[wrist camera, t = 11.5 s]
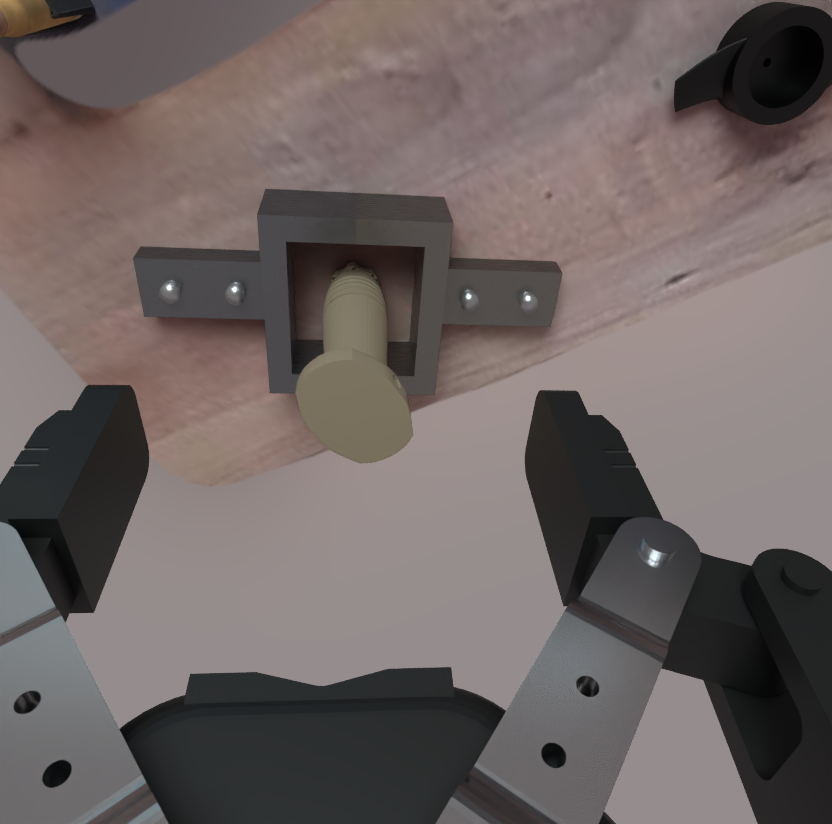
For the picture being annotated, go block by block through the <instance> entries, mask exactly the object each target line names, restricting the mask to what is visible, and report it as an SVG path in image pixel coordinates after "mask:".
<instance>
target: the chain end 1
mask: <svg viewBox="0 0 832 824" xmlns="http://www.w3.org/2000/svg"><path fill="white" fill-rule="evenodd" d="M257 220H258V234H259V248H260V251H246V250H218V249H190V248H163V247H140V249H139V250H138V252H137V253H136V255H135V256H134V258H133V260H134V265H135V270H136V276H137V281H138V286H139V291H140V297H141V302H142V307H143V312H144V317H179V318H219V319H258V320H265V332H266V346H267V360H268V374H269V388H270V393H295V392H296V385H297V381H298V378H299V376H300V374H301V372H302V371H303V369H304V367H305V366H306V365H308V364H309V363H310V362H311V361H312V360H313V359H315V358H316V357H318V356H319V355H322V354H324V347H323V340H297V338H296V313H295V288H294V263H293V242H308V243H334V244H356V228H357V210H356V193H342V192H320V191H298V190H277V189H265V192H264V195H263V198H262V201H261V204H260V208H259V211H258V214H257Z"/></svg>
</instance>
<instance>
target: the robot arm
mask: <svg viewBox="0 0 832 824" xmlns="http://www.w3.org/2000/svg"><path fill="white" fill-rule="evenodd" d="M628 450H629V449H628V448H627V445H626V443H625V441H624V439H623V437H622V435H621V433H620V431H619V430H618V429H616V428H615V427H614V426H613V425H612V424H611V423H610V422H609V421H608V420H607V419H605V418H604V417H603V416H602V415H588V413H587V410H586V408H585V406H584V404H583V401H582V399H581V397H580V395H579V393H578V392H577V391H550V390H548V391H546V390H540V391H539V392H538V394H537V397H536V401H535V406H534V411H533V415H532V421H531V425H530V430H529V435H528V440H527V445H526V452H525V471H526V477H527V481H528V484H529V488H530V491H531V495H532V498H533V502H534V505H535V509H536V512H537V515H538V519H539V522H540V526H541V529H542V533H543V537H544V540H545V543H546V547H547V550H548V554H549V557H550V561H551V564H552V568H553V571H554V575H555V578H556V582H557V585H558V589H559V592H560V595H561V599H562V603H563V606H567V608H566V610H565V611H564V613H563V615H562V616H561V618H560V620H559V622H558V623H557V625H556V627H555V629H554V630H553V632H552V634H551V635H550V637H549V639H548V640H547V642H546V644H545V646H544V647H543V649H542V651H541V652H540V654H539V656H538V658H537V659H536V661H535V663H534V665H533V666H532V668H531V670H530V671H529V673H528V675H527V676H526V678H525V680H524V682H523V683H522V685H521V687H520V688H519V690H518V692H517V693H516V695H515V697H514V699H513V700H512V702H511V704H510V705H509V707H508V709H507V711H506V710H504V709H502V708H501V707H499V706H498V705H496V704H495V703H493V702H491V701H489V700H487V699H485V698H483V697H481V696H479V695H477V694H474V693H472V692H469V691H466V690H463V689H459V688H455V687H453V680H452V671H451V668H450V667H442V668H403V669H387V670H383V671H379V672H375V673H372V674H368V675H364V676H361V677H357V678H353V679H350V680H346V681H343V682H339V683H335V684H331V685H327V686H315V685H311V684H306V683H301V682H297V681H292V680H288V679H283V678H279V677H274V676H270V675H266V674H261V673H257V672H246V673H210V674H190V677H189V682H188V686H187V690H186V695H184V696H180V697H177V698H174V699H171V700H169V701H166V702H164V703H161V704H159V705H157V706H155V707H153V708H151V709H149V710H147V711H145V712H143V713H142V714H140V715H139V716H137V717H136V718H134V719H132V720H131V721H130V722H128V723H127V724H125V725H124V726H123V727H121V729H119V728H118V726H117V724H116V722H115V720H114V718H113V716H112V714H111V712H110V710H109V708H108V706H107V704H106V702H105V700H104V698H103V696H102V694H101V692H100V690H99V688H98V686H97V684H96V682H95V680H94V678H93V676H92V675H91V672H90V670H89V669H88V667H87V665H86V663H85V661H84V659H83V657H82V655H81V653H80V651H79V649H78V647H77V645H76V643H75V641H74V639H73V637H72V635H71V634H70V631H69V629H68V627H67V625H66V620H67V618H68V615H69V613H94V611H95V608H96V606H97V603H98V600H99V598H100V595H101V593H102V590H103V587H104V585H105V582H106V580H107V577H108V575H109V572H110V570H111V567H112V564H113V562H114V559H115V557H116V554H117V552H118V549H119V546H120V544H121V541H122V539H123V536H124V534H125V531H126V528H127V526H128V523H129V521H130V518H131V516H132V513H133V510H134V508H135V505H136V503H137V500H138V497H139V495H140V492H141V489H142V487H143V485H144V482H145V479H146V476H147V472H148V467H149V450H148V444H147V440H146V436H145V432H144V428H143V424H142V420H141V416H140V412H139V408H138V404H137V400H136V396H135V392H134V390H133V388H132V387H131V386H129V385H88V386H86V387H85V389H84V390H83V392H82V394H81V395H80V397H79V399H78V400H77V402H76V404H75V405H74V407H73V409H72V410H71V411H70V410H59V411H58V412H56V413H55V414H54V415H52V416H51V417H50V418H48V419H47V420H46V421H44V422H43V423H42V424H40V425H39V426H38V427H37V428H36V429H35V431H34V432H33V434H32V436H31V437H30V439H29V440H28V442H27V444H26V445H25V450H24V451H21V453H20V454H19V456H18V457H17V459H16V461H15V462H14V464H15V465H14V467H11V468H10V470H9V472H8V473H7V475H6V476H5V478H4V479H3V481H2V482H1V484H0V824H616V823H615V822H614V821H613V820H612V819H611V818H610V817H609V816H608V815H607V814H606V813H605V812H604V809H605V807H606V804H607V802H608V799H609V797H610V794H611V792H612V789H613V787H614V784H615V782H616V780H617V777H618V775H619V772H620V770H621V767H622V765H623V762H624V760H625V757H626V754H627V752H628V750H629V747H630V745H631V742H632V740H633V737H634V735H635V732H636V730H637V727H638V725H639V722H640V719H641V717H642V715H643V712H644V710H645V707H646V705H647V702H648V700H649V697H650V695H651V692H652V690H653V687H654V685H655V682H656V680H657V677H658V675H659V672H660V670H661V668H662V669H666V670H669V671H673V672H676V673H680V674H684V675H687V676H691V677H694V678H698V679H702V680H704V683H705V685H706V688H707V691H708V693H709V696H710V699H711V701H712V704H713V707H714V709H715V712H716V715H717V717H718V720H719V723H720V725H721V728H722V730H723V733H724V736H725V738H726V741H727V744H728V746H729V749H730V751H731V754H732V757H733V760H734V762H735V765H736V767H737V770H738V773H739V775H740V778H741V780H742V783H743V786H744V789H745V791H746V794H747V797H748V799H749V802H750V804H751V807H752V810H753V812H754V815H755V818H756V820H757V823H758V824H832V571H830V570H829V569H828V568H827V567H826V566H824V565H823V564H821V563H820V562H819V561H817V560H815V559H813V558H811V557H809V556H807V555H805V554H802V553H799V552H797V551H793V550H788V549H770V550H766V551H764V552H762V553H761V554H759V555H758V556H757V558H756V559H755V561H754V562H753V564H752V566H750V565H745V564H742V563H738V562H734V561H729V560H725V559H721V558H717V557H713V556H710V555H707V554H704V553H701V552H700V550H699V548H698V546H697V544H696V543H695V541H694V540H693V539H692V538H691V537H690V536H689V535H688V534H687V533H686V532H685V531H684V530H682V529H681V528H679V527H678V526H676V525H674V524H672V523H670V522H667V521H664V520H663V518H662V516H661V514H660V512H659V510H658V508H657V506H656V504H655V502H654V500H653V498H652V496H651V494H650V492H649V490H648V488H647V486H646V484H645V482H644V480H643V478H642V476H641V474H640V471H639V469H638V468H636V463H635V462H634V459H633V457H632V455H631V453H629V452H628Z"/></svg>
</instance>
